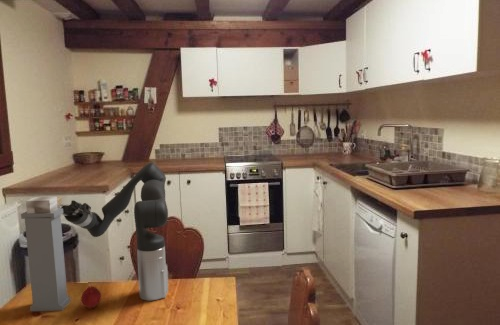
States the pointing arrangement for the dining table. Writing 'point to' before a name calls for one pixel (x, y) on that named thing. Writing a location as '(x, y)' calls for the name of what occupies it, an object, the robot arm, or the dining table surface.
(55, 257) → the stand
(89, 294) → the onion
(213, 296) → the dining table surface
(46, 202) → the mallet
